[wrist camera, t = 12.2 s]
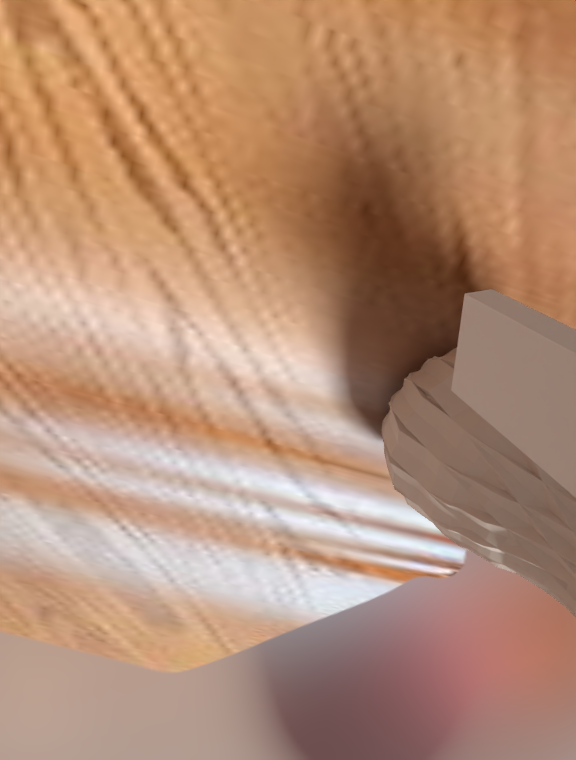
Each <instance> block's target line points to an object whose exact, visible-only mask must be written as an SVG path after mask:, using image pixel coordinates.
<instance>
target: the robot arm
mask: <svg viewBox="0 0 576 760" xmlns="http://www.w3.org/2000/svg"><path fill="white" fill-rule="evenodd" d="M451 391H452V392H454V393H455V394H456V395H457V396H458V397H459V398H461V399H462V400H463V401H464V402H465V403H466V404H467V405H469V406H470V407H471V408H472V409H473V410H474V411H476V412H477V413H478V414H479V415H480V416H481V417H483V418H484V419H485V420H486V421H487V422H488V423H490V424H491V425H492V426H493V427H494V428H495V429H496V430H498V431H499V432H500V433H501V434H502V435H503V436H505V437H506V438H507V439H508V440H509V441H510V442H512V443H513V444H514V445H515V446H516V447H517V448H519V449H520V450H521V451H522V452H523V453H524V454H526V455H527V456H528V457H529V458H530V459H531V460H532V461H534V462H535V463H536V464H537V465H538V466H539V467H541V468H542V469H543V470H544V471H545V472H546V473H548V474H549V475H550V476H551V477H552V478H553V479H555V480H556V481H557V482H558V483H559V484H560V485H561V486H563V487H564V488H565V489H566V490H567V491H568V492H570V493H571V494H572V495H573V496H574V497H575V498H576V330H575V329H573V328H571V327H569V326H567V325H565V324H563V323H561V322H559V321H557V320H555V319H553V318H551V317H548V316H546V315H544V314H542V313H540V312H538V311H536V310H534V309H532V308H530V307H528V306H526V305H524V304H522V303H520V302H518V301H516V300H514V299H511V298H509V297H507V296H505V295H503V294H501V293H499V292H497V291H495V290H493V289H489V290H483V291H477V292H471V293H465V295H464V302H463V309H462V316H461V323H460V330H459V337H458V345H457V352H456V359H455V366H454V373H453V380H452V387H451Z"/></svg>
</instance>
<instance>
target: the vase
mask: <svg viewBox="0 0 576 760" xmlns="http://www.w3.org/2000/svg"><path fill="white" fill-rule="evenodd" d="M456 352H457V348H454V349H453V350H451V351H450V352H448V353H447V354H445V355H444V356H442V357H436V356H434V357H433V358H431V359H428V360H427V361H426V362H425V363H424V364H423V365H422V367H421V369H420V370H419V371H415V372H412V373H409V375H408V377H406V378H404V382H403V387H402V389H400V390H398V391H397V392H396V393H395V394H394V395H393V396H392V397H391V401H390V402H389V403H388V404H389V406H390V411H389V412H388V414H387V415H386V417H385V419H384V420H383V422H382V436H383V441H384V453H385V458H386V463H387V467H388V470H389V474H390V477H391V480H392V483H393V485H394V488H395V490H397V491H398V492H399V493H401V494H402V495H403V496H404V497H405V499H406V502H407V504H408V505H410V506H411V507H412V508H413V509H415V510H416V511H417V512H419V513H420V514H421V515H422V516H424V517H425V518H427V519H428V520H430V521H431V522H433V524H434V525H435V526H436V527H437V528H438V529H439V530H440V531H441V532H442V533H443V534H444V535H445V536H446V537H448V538H449V539H450V540H452V541H453V542H454V543H456V544H457V545H458V546H460V547H462V548H464V549H466V550H469V551H471V552H473V553H475V554H477V555H478V556H480V557H482V558H483V559H485V560H486V561H488V562H490V563H491V564H493V565H495V566H496V567H499V568H501V569H505V570H508V571H511V572H514V573H516V574H518V575H520V576H522V577H523V578H525V579H527V580H528V581H530V582H531V583H533V584H534V585H536V586H538V587H539V588H541V589H542V590H544V591H545V592H546V593H548V594H549V595H550V596H552V597H553V598H554V599H556V600H557V601H558V602H560V603H561V604H563V605H564V606H565V607H566V608H567V609H568V610H569V611H570V612H571V613H572V614H573V615H574V616H575V617H576V498H575V497H574V496H573V495H572V494H571V493H570V492H568V491H567V490H566V489H565V488H564V487H563V486H561V485H560V484H559V483H558V482H557V481H556V480H555V479H553V478H552V477H551V476H550V475H549V474H548V473H546V472H545V471H544V470H543V469H542V468H541V467H539V466H538V465H537V464H536V463H535V462H534V461H532V460H531V459H530V458H529V457H528V456H527V455H526V454H524V453H523V452H522V451H521V450H520V449H519V448H517V447H516V446H515V445H514V444H513V443H512V442H510V441H509V440H508V439H507V438H506V437H505V436H503V435H502V434H501V433H500V432H499V431H498V430H496V429H495V428H494V427H493V426H492V425H491V424H490V423H488V422H487V421H486V420H485V419H484V418H483V417H481V416H480V415H479V414H478V413H477V412H476V411H474V410H473V409H472V408H471V407H470V406H469V405H467V404H466V403H465V402H464V401H463V400H462V399H461V398H459V397H458V396H457V395H456V394H455V393H454V392H452V391H451V387H452V380H453V373H454V366H455V359H456Z"/></svg>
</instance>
